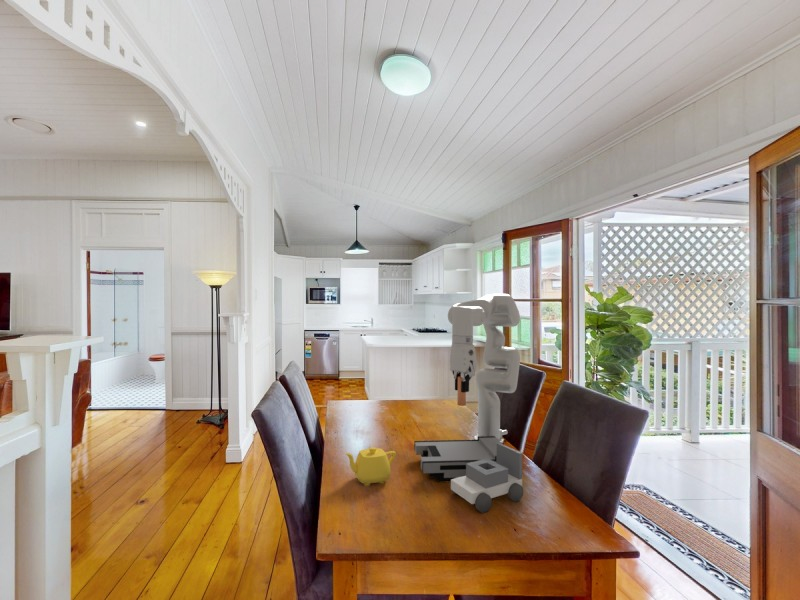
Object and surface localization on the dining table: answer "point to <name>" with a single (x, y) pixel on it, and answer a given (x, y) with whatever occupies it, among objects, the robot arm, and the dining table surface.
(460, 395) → the pin
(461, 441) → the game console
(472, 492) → the ramp trolley
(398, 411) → the dining table surface
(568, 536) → the dining table surface
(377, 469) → the teapot
